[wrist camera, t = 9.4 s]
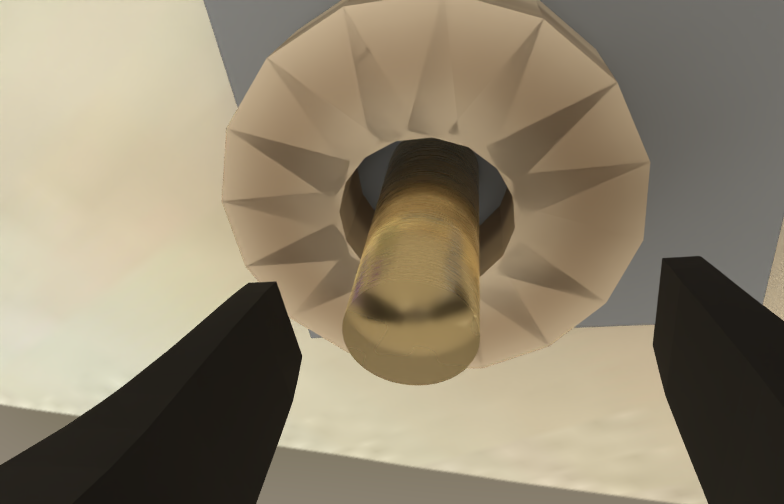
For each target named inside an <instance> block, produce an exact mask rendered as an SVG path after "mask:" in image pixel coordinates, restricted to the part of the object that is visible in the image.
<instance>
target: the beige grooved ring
mask: <svg viewBox="0 0 784 504" xmlns="http://www.w3.org/2000/svg"><path fill="white" fill-rule="evenodd" d="M431 137H433V138H437V139H440V140H444V141H448V142H451V143H455V144H459V145H463V146H466V147H469V148H470V149H472V150H473V151H474V152H476V153H477V154H478V155H480V156H481V157H482V158H484V159H485V160H486V161H488V162H489V163H490V164H492V165H493V166H494V167H496V168H497V169H498V171H499V173H500V175H501V176H502V178H503V180H504V182H505V184H506V185H507V189H506V192H505V194H504V197H503V199H502V202H501V205H500V206H499V207H498V208H497V209H496V210H495V211H494V212H493V213H492V214H491V215H490V216H489V217H488V218H487V219H486V220H485V221H484V222H483V223H482V224H481V225H480V226H479V267H480V344H479V349H478V352H477V354H476V356H475V358H474V360H473V361H472V362H471V364H470V365H469V366H468V367H467V368H485V367H488V366H491V365H494V364H497V363H500V362H503V361H506V360H509V359H512V358H515V357H518V356H521V355H524V354H527V353H530V352H533V351H536V350H539V349H542V348H545V347H548V346H550V345H552V344H553V343H554V342H555V341H557V340H558V339H559V338H561V337H562V336H563V335H565V334H566V333H567V332H569V331H570V330H571V329H573V328H574V327H575V326H576V325H578V324H579V323H580V322H582V321H583V320H584V319H586V318H587V317H588V316H590V315H591V314H592V313H594V312H595V311H596V310H597V309H599V308H600V307H601V306H603V305H604V304H605V303H606V302H607V301H608V299H609V297H610V296H611V294H612V292H613V290H614V289H615V287H616V285H617V284H618V282H619V280H620V279H621V277H622V275H623V274H624V272H625V270H626V269H627V267H628V265H629V264H630V262H631V260H632V258H633V257H634V255H635V253H636V252H637V250H638V248H639V247H640V245H641V243H642V242H643V239H644V228H645V217H646V206H647V194H648V183H649V172H650V160H649V158H648V155H647V153H646V150H645V148H644V146H643V143H642V141H641V138H640V136H639V134H638V131H637V129H636V126H635V124H634V121H633V119H632V117H631V114H630V112H629V109H628V107H627V104H626V102H625V100H624V97H623V95H622V92H621V90H620V88H619V85H618V83H617V81H616V79H615V78H614V76H613V75H612V73H611V72H610V70H609V69H608V67H607V65H606V64H605V62H604V61H603V59H602V58H601V56H600V55H599V53H598V52H597V50H596V49H595V48H594V47H593V46H592V45H590V44H589V43H588V42H587V41H586V40H585V39H584V38H582V37H581V36H580V35H579V34H578V33H577V32H576V31H574V30H573V29H572V28H571V27H570V26H569V25H567V24H566V23H565V22H564V21H563V20H562V19H561V18H559V17H558V16H557V15H556V14H555V13H554V12H552V11H551V10H550V9H549V8H548V7H547V6H546V5H544V4H543V3H542V2H541V1H540V0H341V1H340V2H338V3H337V4H335V5H334V6H332V7H331V8H329V9H328V10H326V11H325V12H323V13H322V14H320V15H319V16H317V17H316V18H314V19H313V20H311V21H310V22H309V23H307V24H306V25H304V26H303V27H301V28H300V29H298V30H297V31H296V32H295V33H294V34H292V35H291V36H290V37H289V38H288V39H287V40H286V41H285V42H284V43H283V44H281V45H280V46H279V47H278V48H277V49H276V50H275V51H274V52H273V53H272V54H270V55H269V56H268V57H267V58H266V60H265V62H264V64H263V65H262V67H261V69H260V71H259V72H258V74H257V76H256V78H255V79H254V81H253V83H252V84H251V86H250V88H249V90H248V91H247V93H246V95H245V97H244V98H243V100H242V102H241V104H240V105H239V107H238V109H237V111H236V112H235V114H234V116H233V118H232V119H231V121H230V123H229V125H228V126H227V128H226V142H225V157H224V172H223V188H222V204H223V206H224V209H225V212H226V215H227V217H228V220H229V223H230V225H231V228H232V231H233V234H234V236H235V239H236V242H237V245H238V247H239V250H240V253H241V255H242V258H243V261H244V264H245V266H246V268H247V269H248V270H249V271H250V272H251V273H252V274H253V276H254V277H255V278H256V279H257V280H258V281H259V282H273V281H276V282H277V284H278V287H279V290H280V293H281V296H282V299H283V302H284V305H285V308H286V311H287V313H288V316H289V317H290V318H291V319H293V320H295V321H296V322H298V323H300V324H301V325H303V326H305V327H306V328H308V329H310V330H311V331H313V332H315V333H316V334H318V335H320V336H321V337H323V338H325V339H326V340H328V341H330V342H331V343H333V344H335V345H336V346H338V347H340V348H341V349H343V350H345V351H346V352H348V353H350V352H349V351H348V349H347V347H346V345H345V342H344V339H343V334H342V323H343V318H344V315H345V311H346V308H347V305H348V301H349V298H350V294H351V291H352V287H353V284H354V281H355V277H356V274H357V270H358V267H359V264H360V260H361V257H362V253H363V250H364V247H365V243H366V240H367V236H368V233H369V230H370V226H371V223H372V219H373V216H374V213H375V211H374V209H373V208H372V206H371V205H370V204H369V202H368V201H367V199H366V198H365V196H364V195H363V193H362V188H361V184H360V179H359V174H358V170H357V167H358V166H359V165H360V163H361V162H362V161H363V159H364V158H365V157H367V156H369V155H371V154H373V153H374V152H376V151H378V150H380V149H382V148H384V147H386V146H387V145H389V144H391V143H393V142H395V141H403V140H412V139H421V138H431Z"/></svg>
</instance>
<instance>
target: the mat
mask: <svg viewBox="0 0 784 504" xmlns="http://www.w3.org/2000/svg"><path fill="white" fill-rule="evenodd" d="M340 1H341V0H204V3H205V7H206V10H207V13H208V16H209V19H210V22H211V25H212V29H213V32H214V35H215V38H216V41H217V44H218V47H219V50H220V54H221V57H222V60H223V63H224V66H225V69H226V72H227V76H228V79H229V82H230V85H231V88H232V91H233V94H234V98H235V101H236V104H237V107H239V105H240V104H241V102H242V100H243V98H244V97H245V95H246V93H247V91H248V90H249V88H250V86H251V84H252V83H253V81H254V79H255V78H256V76H257V74H258V72H259V71H260V69H261V67H262V65H263V64H264V62H265V60H266V58H267V57H268V56H269V55H270V54H272V53H273V52H274V51H275V50H276V49H277V48H278V47H279V46H280V45H281V44H283V43H284V42H285V41H286V40H287V39H288V38H289V37H290V36H291V35H292V34H294V33H295V32H296V31H297V30H298V29H300V28H301V27H303V26H304V25H306V24H307V23H309V22H310V21H311V20H313V19H314V18H316V17H317V16H319V15H320V14H322V13H323V12H325V11H326V10H328V9H329V8H331V7H332V6H334V5H335V4H337V3H338V2H340ZM540 1H541V2H542V3H543V4H544V5H546V6H547V7H548V8H549V9H550V10H551V11H552V12H554V13H555V14H556V15H557V16H558V17H559V18H561V19H562V20H563V21H564V22H565V23H566V24H567V25H569V26H570V27H571V28H572V29H573V30H574V31H576V32H577V33H578V34H579V35H580V36H581V37H582V38H584V39H585V40H586V41H587V42H588V43H589V44H590V45H592V46H593V47H594V48H595V49H596V50H597V52H598V53H599V55H600V56H601V58H602V59H603V61H604V62H605V64H606V65H607V67H608V69H609V70H610V72H611V73H612V75H613V76H614V78H615V79H616V81H617V83H618V85H619V88H620V90H621V92H622V95H623V97H624V100H625V102H626V104H627V107H628V109H629V112H630V114H631V117H632V119H633V121H634V124H635V126H636V129H637V131H638V134H639V136H640V138H641V141H642V143H643V146H644V148H645V150H646V153H647V155H648V158H649V160H650V172H649V183H648V194H647V206H646V217H645V228H644V239H643V242H642V243H641V245H640V247H639V248H638V250H637V252H636V253H635V255H634V257H633V258H632V260H631V262H630V264H629V265H628V267H627V269H626V270H625V272H624V274H623V275H622V277H621V279H620V280H619V282H618V284H617V285H616V287H615V289H614V290H613V292H612V294H611V296H610V297H609V299H608V301H607V302H606V303H605V304H604V305H603V306H601V307H600V308H599V309H597V310H596V311H595V312H594V313H592V314H591V315H590V316H588V317H587V318H586V319H584V320H583V321H582V322H580V323H579V324H578V325H576V326H575V327H574V328H579V327H604V326H629V325H655V320H656V311H657V302H658V292H659V283H660V274H661V265H662V258H672V257H689V256H701V257H702V258H704V259H705V260H706V261H708V262H709V263H710V264H712V265H713V266H714V267H715V268H717V269H718V270H719V271H720V272H722V273H723V274H724V275H725V276H727V277H728V278H729V279H730V280H732V281H733V282H734V283H735V284H737V285H738V286H739V287H740V288H742V289H743V290H744V291H745V292H747V293H748V294H749V295H751V296H752V297H753V298H754V299H756V300H757V301H758V302H759V303H761V304H762V305H763V301H764V297H765V292H766V288H767V284H768V280H769V276H770V271H771V267H772V263H773V259H774V255H775V251H776V246H777V242H778V238H779V234H780V230H781V226H782V221H783V217H784V0H540ZM401 142H402V141H395V142H393V143H391V144H389V145H387V146H386V147H384V148H382V149H380V150H378V151H376V152H374V153H373V154H371V155H369V156H367V157H365V158H364V159H363V161H362V162H361V163H360V165H359V166H358V167H357V170H358V174H359V179H360V184H361V188H362V193H363V195H364V196H365V198H366V199H367V201H368V202H369V204H370V205H371V206H372V208H373V209H374V211H375V209H376V206H377V202H378V199H379V196H380V192H381V189H382V185H383V182H384V179H385V175H386V172H387V168H388V165H389V162H390V158H391V156H392V154H393V152H394V150H395V149H396V147H397V146H398V145H399V144H400V143H401ZM472 151H473V150H472ZM473 152H474V151H473ZM474 154H475V156H476V159H477V162H478V167H479V226H480V225H481V224H482V223H483V222H484V221H485V220H486V219H487V218H488V217H489V216H490V215H491V214H492V213H493V212H494V211H495V210H496V209H497V208H498V207H499V206H500V205H501V202H502V199H503V197H504V194H505V192H506V189H507V185H506V184H505V182H504V180H503V178H502V176H501V175H500V173H499V171H498V169H497V168H496V167H494V166H493V165H492V164H490V163H489V162H488V161H486V160H485V159H484V158H482V157H481V156H480V155H478V154H477V153H476V152H474ZM308 330H309V333H310V336H311V338H323V337H321V336H320V335H318V334H316V333H315V332H313V331H311V330H310V329H308Z"/></svg>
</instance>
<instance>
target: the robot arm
mask: <svg viewBox="0 0 784 504" xmlns="http://www.w3.org/2000/svg"><path fill="white" fill-rule="evenodd" d="M653 348H654V352H655V356H656V360H657V365H658V369H659V373H660V377H661V380H662V384H663V388H664V392H665V396H666V398H667V401H668V403H669V406H670V409H671V411H672V414H673V416H674V419H675V421H676V424H677V426H678V429H679V432H680V434H681V437H682V439H683V442H684V444H685V447H686V449H687V452H688V454H689V457H690V459H691V462H692V464H693V467H694V469H695V472H696V474H697V477H698V479H699V482H700V484H701V486H702V489H703V491H704V494H705V496H706V499H707V501H708V504H784V321H783V320H782V319H781V318H779V317H778V316H777V315H775V314H774V313H772V312H771V311H770V310H769V309H767V308H766V307H765V306H763V305H762V304H761V303H759V302H758V301H757V300H756V299H754V298H753V297H752V296H751V295H749V294H748V293H747V292H745V291H744V290H743V289H742V288H740V287H739V286H738V285H737V284H735V283H734V282H733V281H732V280H730V279H729V278H728V277H727V276H725V275H724V274H723V273H722V272H720V271H719V270H718V269H717V268H715V267H714V266H713V265H712V264H710V263H709V262H708V261H706V260H705V259H704V258H702V257H701V256H689V257H672V258H662V265H661V274H660V283H659V292H658V302H657V311H656V320H655V329H654V338H653ZM301 360H302V354H301V351H300V348H299V345H298V342H297V340H296V337H295V334H294V331H293V328H292V325H291V322H290V319H289V316H288V313H287V311H286V308H285V305H284V302H283V299H282V296H281V293H280V290H279V287H278V284H277V282H276V281H273V282H257V283H248V284H246V285H245V286H244V287H242V288H241V289H240V290H238V291H237V292H236V293H235V294H233V295H232V296H231V297H230V298H229V299H227V300H226V301H225V302H224V303H223V304H222V305H220V306H219V307H218V308H217V309H216V310H215V311H214V312H212V313H211V314H210V315H209V316H208V317H207V318H205V319H204V320H203V321H202V322H201V323H200V324H199V325H197V326H196V327H195V328H194V329H193V330H192V331H190V332H189V333H188V334H187V335H186V336H185V337H183V338H182V339H181V340H180V341H179V342H178V343H176V344H175V345H174V346H173V347H172V348H170V349H169V350H168V351H167V352H166V353H164V354H163V355H162V356H161V357H159V358H158V359H157V360H155V361H154V362H153V363H152V364H150V365H149V366H148V367H147V368H145V369H144V370H143V371H142V372H140V373H139V374H138V375H137V376H135V377H134V378H133V379H132V380H130V381H129V382H128V383H127V384H125V385H124V386H123V387H121V388H120V389H119V390H117V391H116V392H114V393H113V394H112V395H110V396H109V397H108V398H106V399H105V400H103V401H102V402H101V403H99V404H98V405H96V406H95V407H93V408H92V409H90V410H89V411H87V412H86V413H84V414H83V415H81V416H80V417H78V418H77V419H76V420H74V421H73V422H71V423H69V424H68V425H67V426H65V427H63V428H62V429H60V430H58V431H57V432H55V433H53V434H52V435H50V436H48V437H47V438H45V439H43V440H42V441H40V442H38V443H37V444H35V445H33V446H32V447H30V448H28V449H27V450H25V451H23V452H22V453H20V454H18V455H17V456H15V457H14V458H12V459H10V460H8V461H7V462H5V463H3V464H2V465H0V504H256V502H257V500H258V497H259V494H260V491H261V489H262V486H263V483H264V480H265V477H266V474H267V472H268V469H269V467H270V464H271V461H272V458H273V455H274V453H275V450H276V447H277V445H278V442H279V439H280V436H281V434H282V431H283V428H284V425H285V422H286V419H287V417H288V414H289V411H290V408H291V405H292V402H293V398H294V394H295V389H296V385H297V380H298V375H299V370H300V365H301Z"/></svg>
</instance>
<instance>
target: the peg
mask: <svg viewBox="0 0 784 504" xmlns="http://www.w3.org/2000/svg"><path fill="white" fill-rule="evenodd" d="M342 334H343V339H344V342H345V345H346V347H347V349H348V351H349V352H350V354H351V355H352V356H353V358H354V359H355V360H356V361H357V362H358V363H359V364H360V365H361V366H362V367H364V368H365V369H366V370H368V371H369V372H371V373H373V374H374V375H376V376H378V377H381V378H383V379H385V380H388V381H392V382H395V383H400V384H406V385H429V384H435V383H439V382H443V381H445V380H448V379H450V378H452V377H454V376H456V375H458V374H459V373H461V372H462V371H464V370H465V369H466V368H467V367H468V366H469V365H470V364H471V362H472V361H473V360H474V358H475V356H476V354H477V352H478V349H479V344H480V267H479V167H478V162H477V159H476V156H475V154H474V152H473V151H472V149H470V148H469V147H466V146H463V145H459V144H455V143H451V142H448V141H444V140H440V139H437V138H433V137H431V138H421V139H412V140H403V141H402V142H401V143H400V144H399V145H398V146H397V147H396V149H395V150H394V152H393V154H392V156H391V158H390V162H389V165H388V168H387V172H386V175H385V179H384V182H383V185H382V189H381V192H380V196H379V199H378V202H377V206H376V209H375V213H374V216H373V219H372V223H371V226H370V230H369V233H368V236H367V240H366V243H365V247H364V250H363V253H362V257H361V260H360V264H359V267H358V270H357V274H356V277H355V281H354V284H353V287H352V291H351V294H350V298H349V301H348V305H347V308H346V311H345V315H344V318H343V323H342Z"/></svg>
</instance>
